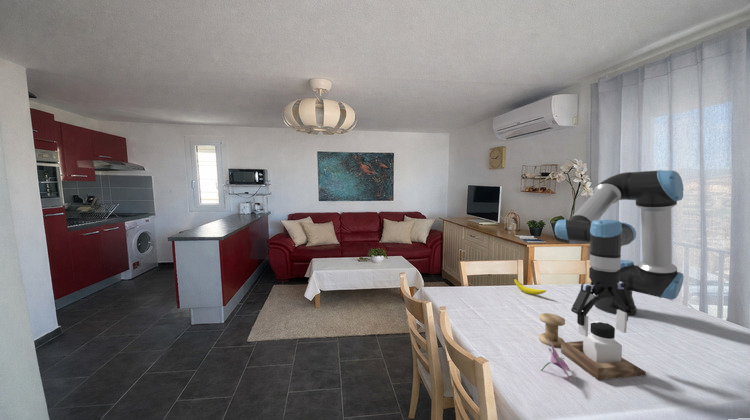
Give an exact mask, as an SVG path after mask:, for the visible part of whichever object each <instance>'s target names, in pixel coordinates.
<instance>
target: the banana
mask: <svg viewBox="0 0 750 420" xmlns="http://www.w3.org/2000/svg"><path fill="white" fill-rule="evenodd" d="M512 279H513V281H514V284H515V286H516V287H517V289H519V290H520V291H521V292H523V293H525V294H529V295H541V294H545V293H546V292H547V290H546V289H538V288H531V287H528V286H525V285H523V284H522V283H521V282H520V281H519V280H517V278H515V277H513V278H512Z"/></svg>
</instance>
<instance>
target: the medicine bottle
mask: <svg viewBox="0 0 750 420" xmlns="http://www.w3.org/2000/svg"><path fill="white" fill-rule="evenodd" d="M589 330H590V332H588V336H587V337H585V336H584V335H583V340H582V341H583V353H584V354H585V355H586V356H588V357H589V358H591V359H592V360H593V361H595V362H596V363H598V364H601V363H612V362H621V357H622V355H623V354H622V352H623V346H622V344H621V343H620V342H618V341H616V340H615V338H616V337H615V336H616V327H614V326H613V325H612V324H610V323H608V322H605V321H600V320H599V321H597V320H596V321H595V320H594V321H591V322H590V329H589ZM622 358H623V357H622Z"/></svg>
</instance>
